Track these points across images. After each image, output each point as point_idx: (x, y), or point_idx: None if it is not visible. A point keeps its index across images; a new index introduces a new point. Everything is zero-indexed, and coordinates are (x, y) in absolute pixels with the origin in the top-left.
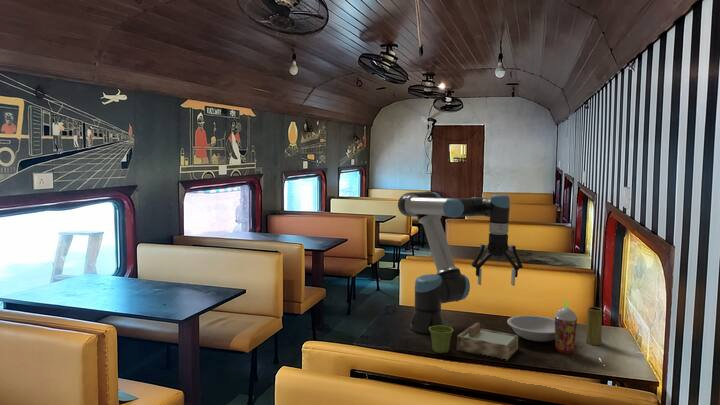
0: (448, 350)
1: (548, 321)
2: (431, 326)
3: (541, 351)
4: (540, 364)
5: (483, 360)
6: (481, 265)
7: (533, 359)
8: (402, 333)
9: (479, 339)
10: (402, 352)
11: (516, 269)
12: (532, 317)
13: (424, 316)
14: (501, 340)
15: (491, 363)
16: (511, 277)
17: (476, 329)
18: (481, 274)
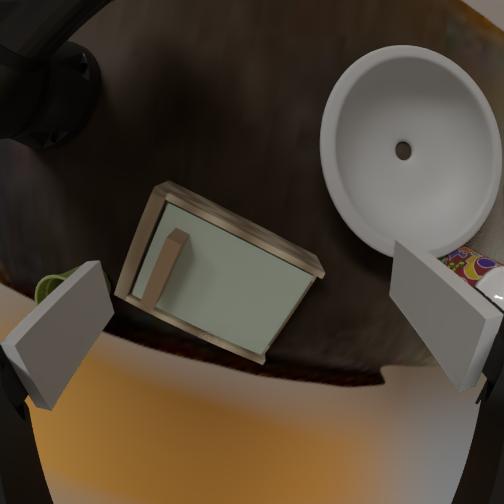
0: (110, 289)
1: (469, 101)
2: (37, 288)
3: (379, 266)
4: (339, 351)
5: (200, 341)
6: (27, 439)
7: (335, 325)
8: (5, 160)
9: (183, 311)
10: (28, 296)
11: (489, 383)
12: (430, 64)
13: (13, 139)
14: (255, 315)
15: (218, 357)
16: (424, 274)
17: (170, 272)
18: (74, 370)
